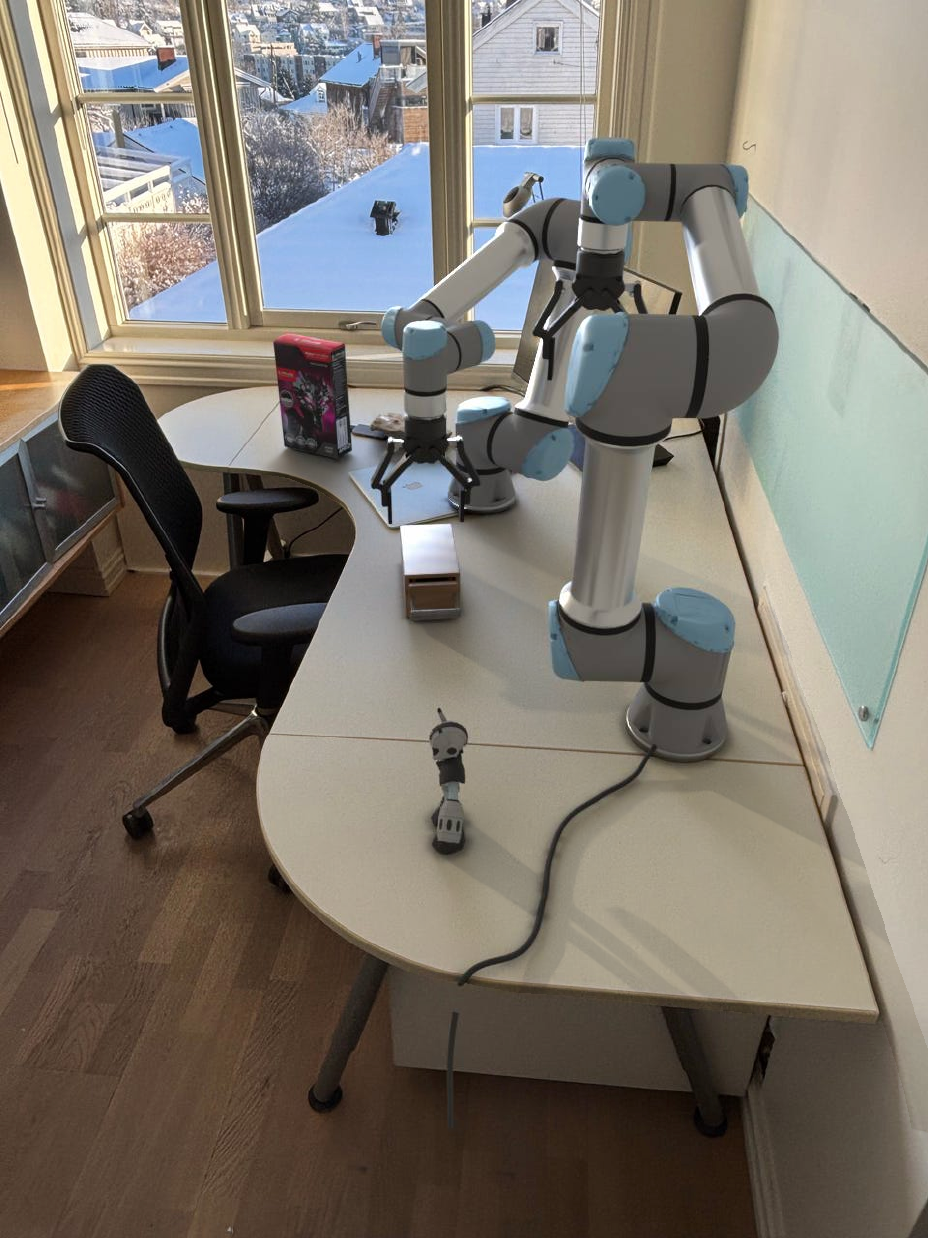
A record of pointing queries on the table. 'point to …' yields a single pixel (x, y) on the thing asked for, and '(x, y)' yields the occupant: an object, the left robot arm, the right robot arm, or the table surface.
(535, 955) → the table surface
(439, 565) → the wooden drawer box
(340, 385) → the graphics card box
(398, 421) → the stone
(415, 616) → the wooden drawer
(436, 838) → the robot
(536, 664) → the table surface
